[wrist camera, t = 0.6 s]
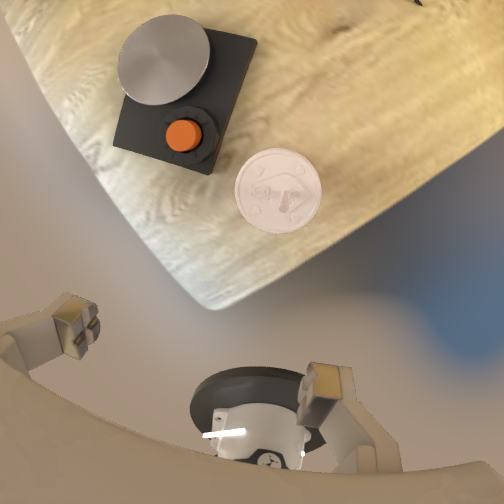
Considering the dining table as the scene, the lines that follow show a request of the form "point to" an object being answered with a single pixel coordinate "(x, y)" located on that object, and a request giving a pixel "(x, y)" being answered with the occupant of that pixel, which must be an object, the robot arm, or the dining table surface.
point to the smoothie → (278, 190)
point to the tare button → (183, 135)
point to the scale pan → (164, 60)
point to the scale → (191, 108)
